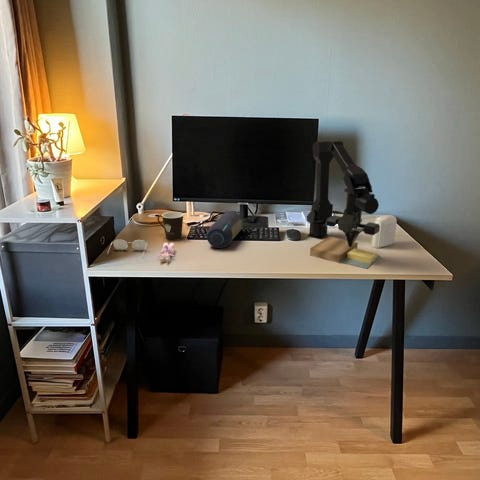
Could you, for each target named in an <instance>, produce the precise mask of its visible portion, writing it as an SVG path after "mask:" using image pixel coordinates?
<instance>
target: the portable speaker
mask: <svg viewBox="0 0 480 480" xmlns="http://www.w3.org/2000/svg"><path fill="white" fill-rule="evenodd" d="M243 226H244V218H243V216H242V215H241V214H240V212H238V211H236V210H229V211H225V212H224V213H223V214H222V215H220V217H219V218H218V219H217V220H215V221H214V223H212V224H211V226H209V228H208V230H207V232H206V239H207V242H208V243H209V245H210V246H211V247H214V248H218V249H221V248H225V247H227V246H228V245H229V244H230V243H231V242H232V241H233V240H234V238H235V237H236V236H237V235H238V234H239V233H240V231H241V230H242V229H243Z"/></svg>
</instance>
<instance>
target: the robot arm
mask: <svg viewBox="0 0 480 480" xmlns="http://www.w3.org/2000/svg"><path fill="white" fill-rule="evenodd" d="M343 142H344V141H342V140H338V139H337V140H316V141H315V142H314V143H313V145H312V152H313V153H312V156H313V158H314V160H315V162H316V184H315V185H316V188H315V189H316V191H315V192H316V193H315V199H314V201H313V202H312V204H311V209H310V211H309V213H308V214H307V215H306V222H308V223H309V233H308V234H307V236H308V237H309V238H310V237H311V238H315V239H321V240H322V239H324V238H326V236H328V235H329V233H328V227H332V228H333V227H336V226H335V225H336V224H338V228H337V229H338V230H339V231H342V232H343V233H344V235H345V238H346V240H347V242H348V245H349V247H352V245H353V243H354V242H355V241H356V240H357V237H358V236H359V234H361V233H362V232H363V233H364V234H366V235H371V236H373V235H375V234H376V233H378V232H379V229H380V226H379V224H376V223H371V222H369V223H367V224H366V225H365V224H361V222H362V219H361V215H363V214H362V213H363V212H364V213H365V214H367V215H373V214H375V213H376V212H377V210H378V209H379V205H380V204H379V201H378V199H377V198H375V197H376V195H375V194H374V193H373V189H372V188H373V186H372V184H371V181H370V179H369V175H368V173H367V172H366V171H365V170H364V169H363V168H362V167H360V166H358V165H357V164H356V163H355V162H354V160H353V158H352V157H351V155H350V154H349V153H348V151H347V150H346V147H345V146H344V143H343ZM333 159H334V160H335V161H336V163H337V164H338V166H339V168H340V169H341V171H342V173H343V176H342V179H343V182H344V184H345V186H346V188H345V189H344V191H343V192H345V193H346V201H345V202H346V204H345V209H344V211H343V213H342V214H343V216H342V217H340V216H335V215H333V216H332V214H334V211H333V209H334V204H333V203H331V201H330V199H329V191H330V190H329V187H330V186H329V185H330V165H331V162H332V161H333Z"/></svg>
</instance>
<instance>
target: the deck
mask: <svg viewBox="0 0 480 480" xmlns="http://www.w3.org/2000/svg"><path fill="white" fill-rule="evenodd" d="M358 245H359V244H358V242H355V241H354V243H353V245H352V247H349V245H348V242H347V239H342V238H338V237H332V236H328V237H327V238H326V237H325V238H324V239H323V240H321V241H320V242H318V243H316V244H315V245H313V246H311V247H310V248H309V250H310V251H309V256H311V257H315V258H319V259H322V260H326V261H329V262H334V263H337V264H340V263H342V262H341V261H342V260H343V259H345V258H346V257H347V253H348V252H349V251H351V250H352V249H354V248H355V249H358Z"/></svg>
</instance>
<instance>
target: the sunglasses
mask: <svg viewBox="0 0 480 480" xmlns="http://www.w3.org/2000/svg"><path fill="white" fill-rule="evenodd" d="M112 244H113V247H114V248H115V250H118V251H125V250H127V249H128V247H129V246H128V244H132V245H131V248H133V249H135V250H136V251H143V252H142V256H141V257H142V258H143V256H144V254H145V251H146V249H147V246H148V244H147V242H146V241H145V240H144V239H136V240H134V241H132V242H129V241H128V242H127V241H126V240H124V239H115V240H113V241H112V242H111V243H110V246H109V248H108V250H107V253H109V252H110V248H111V246H112Z"/></svg>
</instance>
